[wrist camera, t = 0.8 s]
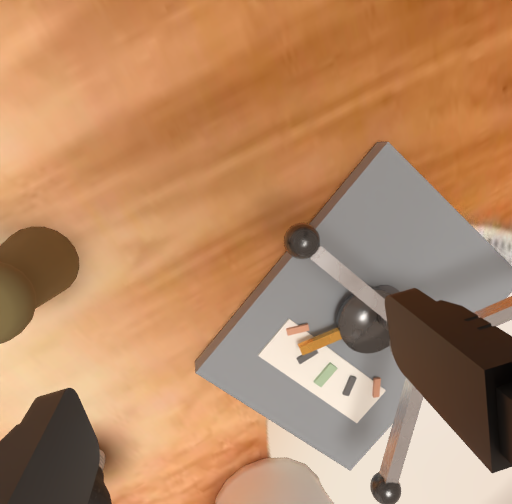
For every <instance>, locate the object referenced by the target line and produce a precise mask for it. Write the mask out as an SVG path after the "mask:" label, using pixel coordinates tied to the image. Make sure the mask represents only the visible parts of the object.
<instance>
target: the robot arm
mask: <svg viewBox="0 0 512 504" xmlns="http://www.w3.org/2000/svg"><path fill="white" fill-rule="evenodd" d="M385 311H386V317H387V324H388V330H389V337H390V343H391V349H392V353H393V357H394V359H395V362H396V364H397V366H398V368H399V369H400V371H401V372H402V373H403V375H404V376H405V377H406V378H407V379H408V380H409V381H410V382H411V383H412V385H413V386H414V387H415V388H416V389H417V390H418V391H419V392H420V393H421V395H422V396H423V397H424V398H425V399H426V400H427V401H428V402H429V403H430V405H431V406H432V407H433V408H434V409H435V410H436V411H437V412H438V414H440V416H441V417H442V418H443V419H444V420H445V421H446V422H447V424H448V425H449V426H450V427H451V428H452V429H453V430H454V431H455V432H456V434H457V435H458V436H459V437H460V438H461V439H462V440H463V441H464V442H465V444H466V445H467V446H468V447H469V448H470V449H471V450H472V451H473V452H474V454H475V455H476V456H477V457H478V458H479V459H480V460H481V461H482V463H483V464H484V465H485V466H486V467H487V468H488V469H489V470H490V471H491V473H494V472H497V471H500V470H503V469H506V468H509V467H512V336H510V335H509V334H507V333H505V332H504V331H502V330H500V329H499V328H497V327H496V326H492V325H491V323H489V322H488V321H486V320H484V319H483V318H479V317H478V315H476V314H475V313H473V312H471V311H470V310H468V309H467V308H465V307H463V306H461V305H458V304H454V303H451V302H447V301H443V300H439V301H435V300H434V299H432V298H431V297H429V296H428V295H426V294H425V293H423V292H422V291H420V290H418V289H417V288H412V289H408V290H405V291H401V292H398V293H394V294H391V295H388V296H386V297H385ZM99 462H100V450H99V444H98V440H97V437H96V435H95V433H94V430H93V428H92V426H91V424H90V421H89V419H88V417H87V415H86V412H85V410H84V408H83V406H82V403H81V401H80V399H79V397H78V395H77V393H76V391H75V390H74V389H72V388H67V389H63V390H60V391H57V392H53V393H50V394H46V395H43V396H39V397H37V398H36V399H35V400H34V402H33V403H32V405H31V407H30V408H29V410H28V412H27V413H26V415H25V417H24V418H23V420H22V422H21V423H20V424H18V425H16V426H15V427H14V428H13V429H12V430H11V431H10V432H9V433H8V434H7V435H6V436H5V437H4V438H3V439H2V440H1V441H0V504H88V502H89V498H90V495H91V491H92V488H93V484H94V481H95V478H96V474H97V471H98V467H99Z"/></svg>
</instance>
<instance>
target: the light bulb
mask: <svg viewBox="0 0 512 504" xmlns="http://www.w3.org/2000/svg"><path fill="white" fill-rule="evenodd" d="M99 450H100V449H99ZM104 465H105V454H104V453H103V451H102V450H100V462H99V467H98V471H97V474H96V478H95V481H94V484H93V488H92V491H91V495H90V498H89V502H88V504H112V503H111V498H110V494H109V492H108V490H107V488H106V486H105V484H104V482H103V479H104V475H103V469H104Z"/></svg>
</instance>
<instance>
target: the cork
mask: <svg viewBox="0 0 512 504" xmlns="http://www.w3.org/2000/svg"><path fill="white" fill-rule="evenodd" d="M78 270H79V257H78V255H77V252H76V250H75V247H74V246H73V245H72V244H71V242H70V241H69V240H68V239H67V238H66V237H65V236H63V235H62V234H60V233H59V232H57V231H55V230H52V229H49V228H46V227H29V228H25V229H21V230H19V231H18V232H16V233H15V234H13V235H12V236H10V237H9V238H8V239H7V240H6V241H5V242H4V243H3V244H2V245H1V246H0V344H1V343H4V342H7V341H9V340H11V339H12V338H14V337H15V336H17V335H18V334H20V333H21V332H22V331H23V330H24V329H25V327H26V326H27V325H28V324H29V322H30V321H31V320H32V318H33V314H34V311H35V309H36V308H37V307H39V306H40V305H42V304H44V303H45V302H47V301H48V300H50V299H52V298H53V297H55V296H56V295H58V294H59V293H61V292H62V291H64V290H66V289H67V288H69V287H70V285H71V284H72V283H73V282H74V280H75V279H76V276H77V273H78Z"/></svg>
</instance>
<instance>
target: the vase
mask: <svg viewBox="0 0 512 504" xmlns="http://www.w3.org/2000/svg"><path fill="white" fill-rule="evenodd" d="M215 504H334V503H333V502H332V500H331V499H330V498H329V496H328V495H327V493H326V492H325V491H324V489H323V487H322V485H321V483H320V481H319V478H318V477H317V475H316V474H315V473H314V472H312V470H311V469H310V468H309V467H308V466H307V465H305V464H303V463H300V462H298V461H295V460H292V459H289V458H264V459H262V460H259V461H256V462H253V463H251V464H248V465H245V466H243V467H242V468H241V469H239V470H238V471H237V472H236V473H234V474H233V475H232V476H231V477H229V478H228V479H227V480H226V481H225V483H224V485H223V486H222V488H221V490H220V491H219V493H218V495H217V496H216V500H215Z"/></svg>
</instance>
